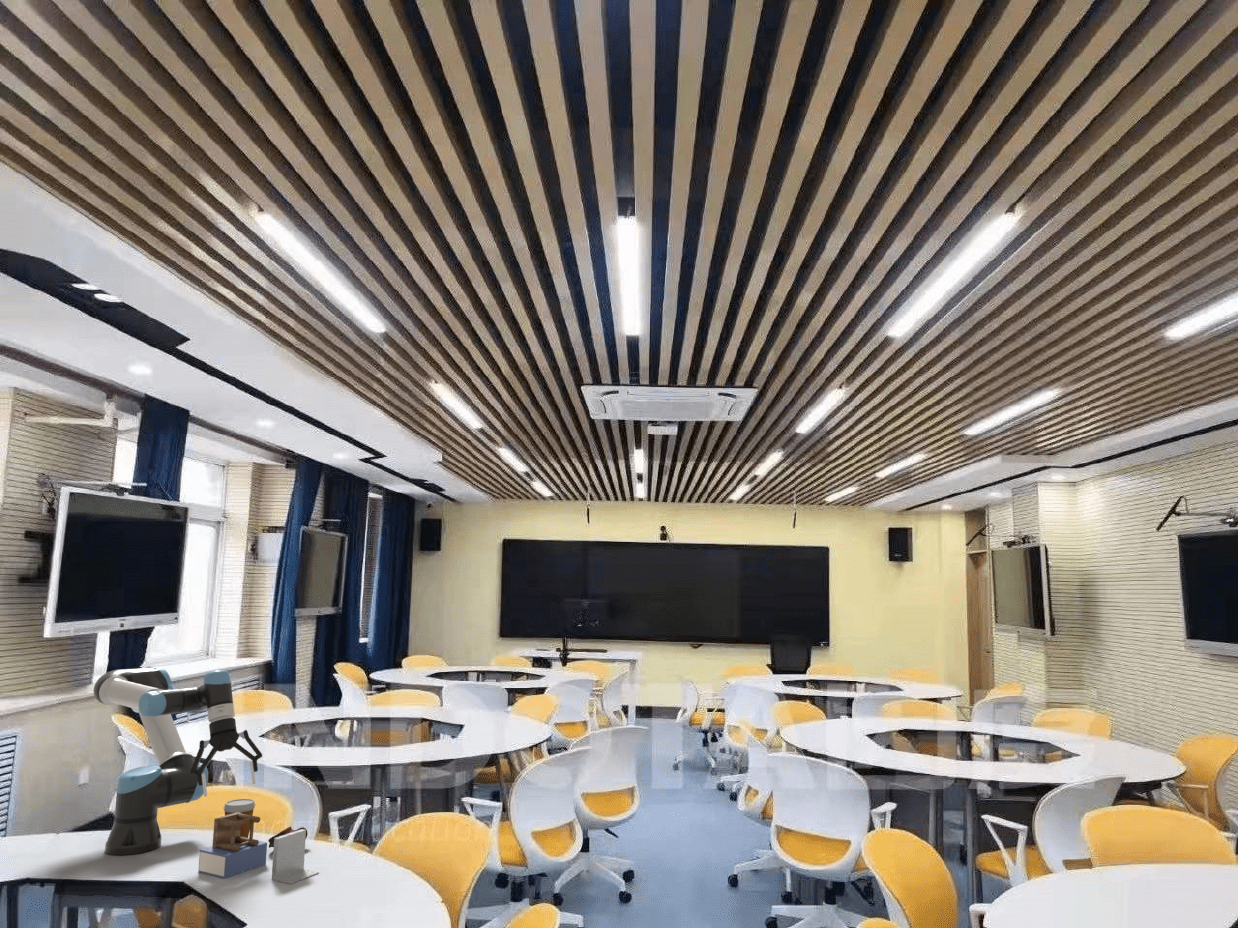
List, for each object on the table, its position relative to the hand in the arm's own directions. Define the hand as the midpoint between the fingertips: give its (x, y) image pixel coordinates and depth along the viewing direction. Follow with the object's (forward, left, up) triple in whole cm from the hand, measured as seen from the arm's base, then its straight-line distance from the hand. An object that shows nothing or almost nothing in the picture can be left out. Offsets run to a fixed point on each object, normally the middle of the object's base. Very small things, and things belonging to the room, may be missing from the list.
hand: (230, 789), depth 258 cm
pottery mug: (+14, +12, -19) cm, 26 cm away
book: (+12, -7, -19) cm, 24 cm away
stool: (+13, -7, -13) cm, 19 cm away
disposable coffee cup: (-8, +11, -19) cm, 23 cm away
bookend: (+34, -4, -19) cm, 39 cm away
